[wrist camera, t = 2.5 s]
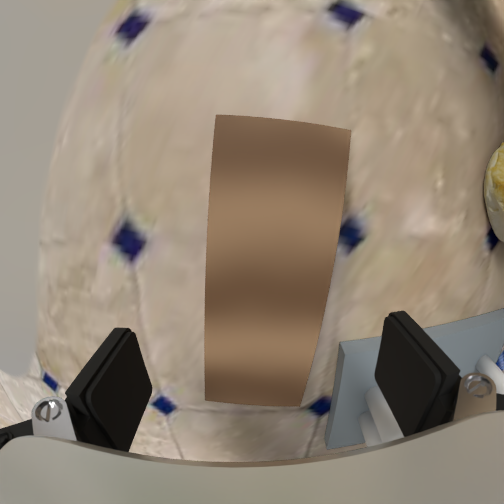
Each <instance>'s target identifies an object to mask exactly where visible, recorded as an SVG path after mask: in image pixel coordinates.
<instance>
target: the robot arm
mask: <svg viewBox="0 0 504 504" xmlns="http://www.w3.org/2000/svg"><path fill="white" fill-rule="evenodd" d="M460 371H461V370H460V369H459V368H458V367H457V366H456V365H455V364H454V362H453V361H452V360H451V359H450V358H449V357H448V356H447V355H446V354H445V353H444V351H443V350H442V349H441V348H440V347H439V346H438V345H437V344H436V343H435V342H434V341H433V340H432V339H431V338H430V336H429V335H428V334H427V333H426V332H425V331H424V330H423V329H422V328H421V327H420V326H419V325H418V324H417V323H416V322H415V321H414V320H413V319H412V318H411V317H410V316H409V315H408V314H407V313H406V312H405V311H398V312H392V313H390V314H389V315H388V317H386V318H385V320H384V326H383V332H382V337H381V343H380V348H379V353H378V358H377V363H376V368H375V373H374V376H375V381H376V383H377V385H378V387H379V388H380V390H381V392H382V394H383V396H384V398H385V400H386V402H387V404H388V406H389V408H390V410H391V412H392V414H393V416H394V418H395V419H396V421H397V423H398V425H399V428H400V430H401V432H402V434H403V436H404V437H403V438H400V439H396V440H393V441H389V442H385V443H382V444H378V445H374V446H370V447H366V448H361V449H357V450H352V451H347V452H341V453H336V454H330V455H323V456H317V457H309V458H301V459H291V460H280V461H264V462H207V461H191V460H179V459H170V458H162V457H154V456H148V455H141V454H136V453H130V452H129V449H130V446H131V444H132V441H133V439H134V436H135V434H136V431H137V429H138V426H139V423H140V421H141V418H142V416H143V413H144V411H145V409H146V406H147V404H148V401H149V399H150V396H151V394H152V385H151V382H150V379H149V376H148V373H147V370H146V367H145V364H144V361H143V357H142V354H141V351H140V347H139V344H138V341H137V337H136V334H135V333H134V332H132V331H131V330H130V329H129V328H114V329H113V331H112V332H111V333H110V334H109V336H108V337H107V338H106V339H105V341H104V342H103V343H102V344H101V346H100V347H99V348H98V350H97V351H96V352H95V353H94V355H93V356H92V357H91V359H90V360H89V361H88V362H87V364H86V365H85V366H84V368H83V369H82V370H81V372H80V373H79V374H78V376H77V377H76V378H75V380H74V381H73V382H72V384H71V385H70V386H69V388H68V389H67V391H66V392H65V394H66V396H67V398H66V399H65V401H64V400H63V399H62V398H60V397H56V396H51V397H46V398H44V399H41V400H40V401H39V402H37V403H36V404H35V406H34V407H33V409H32V419H30V420H27V421H24V422H21V423H18V424H15V425H11V426H8V427H5V428H2V429H0V504H504V394H499V393H496V385H495V383H494V381H493V380H492V379H491V378H490V377H489V376H487V375H485V374H482V373H469V374H467V375H465V376H464V377H463V378H462V377H461V376H460V375H459V373H460Z"/></svg>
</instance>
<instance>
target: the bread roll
mask: <svg viewBox="0 0 504 504" xmlns="http://www.w3.org/2000/svg"><path fill="white" fill-rule="evenodd" d="M484 197H485V203H486V207H487V213H488V217H489V220H490V223H491V226H492V229H493V231H494V233H495V235H496V236H497V237H498V239H499V240H501V241H502V242H504V141H503V142H502V144H501V145H500V147H499V148H498V149H497V150H496V151H495V152H494V153H493V155H492V156H491V158H490V161H489V163H488V166H487V169H486V173H485V179H484Z"/></svg>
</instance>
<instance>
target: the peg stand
mask: <svg viewBox="0 0 504 504" xmlns="http://www.w3.org/2000/svg"><path fill="white" fill-rule="evenodd" d="M423 330H424V331H425V332H426V333H427V334H428V335H429V336H430V338H431V339H432V340H433V341H434V342H435V343H436V344H437V345H438V346H439V347H440V348H441V349H442V350H443V351H444V353H445V354H446V355H447V356H448V357H449V358H450V359H451V360H452V361H453V362H454V364H455V365H456V366H457V367H458V368H459V369H460V370H461V371H460V373H459V375H460V376H461V377H462V378H463V377H464V376H465V375H467V374H469V373H482V374H485V375H487V376H489V377H490V378H491V379H492V380H493V381H494V383H495V385H496V392H497V393H499V394H504V373H503V372H502V371H501V369H500V368H499V367H498V366H497V365H496V362H497V359H498V357H499V355H500V352H501V350H502V347H503V345H504V308H503V309H500V310H496V311H493V312H489V313H486V314H482V315H479V316H475V317H471V318H467V319H464V320H460V321H455V322H451V323H447V324H443V325H438V326H434V327H429V328H424V329H423ZM381 337H382V336H380V337H374V338H367V339H360V340H353V341H345V342H340V344H339V353H338V361H337V368H336V375H335V382H334V388H333V395H332V401H331V406H330V412H329V417H328V423H327V428H326V433H325V443H326V448H327V449H334V448H340V447H345V446H351V445H356V444H361V443H365V442H366V445H367V447H370V446H374V445H378V444H382V443H385V442H389V441H393V440H396V439H400V438H403V437H404V436H403V434H402V432H401V430H400V428H399V425H398V423H397V421H396V419H395V418H394V416H393V414H392V412H391V410H390V408H389V406H388V404H387V402H386V400H385V398H384V396H383V394H382V392H381V390H380V388H379V387H378V385H377V383H376V381H375V376H374V373H375V368H376V363H377V358H378V353H379V348H380V343H381Z"/></svg>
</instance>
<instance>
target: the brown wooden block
mask: <svg viewBox="0 0 504 504" xmlns="http://www.w3.org/2000/svg"><path fill="white" fill-rule="evenodd" d="M350 138H351V130H347V129H342V128H336V127H331V126H325V125H319V124H312V123H305V122H298V121H290V120H282V119H272V118H262V117H250V116H234V115H216V119H215V129H214V140H213V152H212V165H211V178H210V193H209V209H208V228H207V250H206V278H205V400H206V401H214V402H223V403H234V404H246V405H262V406H300V404H301V401H302V398H303V394H304V391H305V387H306V384H307V380H308V377H309V373H310V369H311V365H312V362H313V358H314V354H315V350H316V346H317V342H318V338H319V333H320V329H321V325H322V321H323V316H324V312H325V307H326V302H327V297H328V293H329V288H330V283H331V277H332V272H333V267H334V261H335V255H336V250H337V244H338V238H339V231H340V225H341V218H342V211H343V203H344V196H345V188H346V179H347V170H348V160H349V150H350Z"/></svg>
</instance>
